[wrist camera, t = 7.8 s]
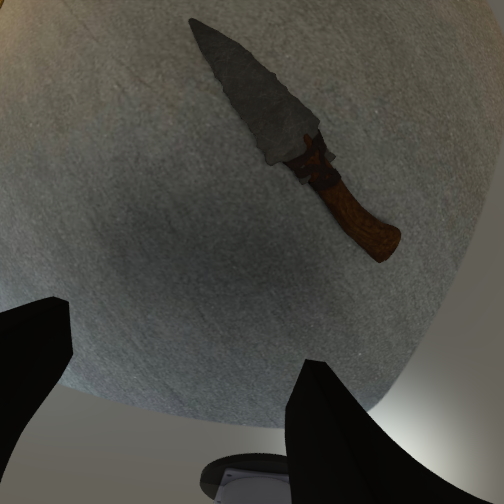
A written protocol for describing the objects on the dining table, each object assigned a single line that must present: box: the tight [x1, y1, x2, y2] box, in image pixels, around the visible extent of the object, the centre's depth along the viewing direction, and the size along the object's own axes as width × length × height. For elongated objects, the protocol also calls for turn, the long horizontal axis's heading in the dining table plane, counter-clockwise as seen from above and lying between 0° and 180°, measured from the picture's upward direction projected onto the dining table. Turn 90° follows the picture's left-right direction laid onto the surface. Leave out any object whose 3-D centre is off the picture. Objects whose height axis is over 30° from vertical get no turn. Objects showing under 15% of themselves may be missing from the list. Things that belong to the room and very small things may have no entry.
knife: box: [188, 18, 401, 263], centre depth 14 cm, size 17×2×5 cm
